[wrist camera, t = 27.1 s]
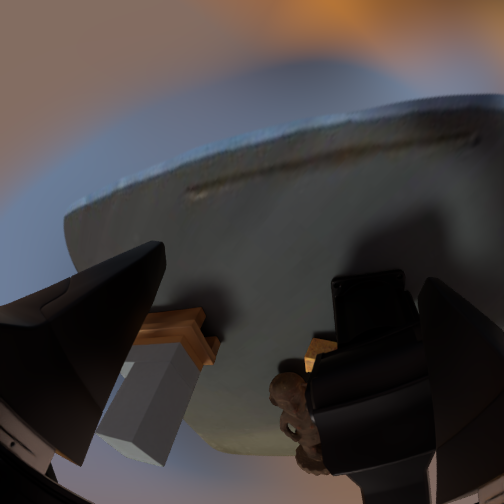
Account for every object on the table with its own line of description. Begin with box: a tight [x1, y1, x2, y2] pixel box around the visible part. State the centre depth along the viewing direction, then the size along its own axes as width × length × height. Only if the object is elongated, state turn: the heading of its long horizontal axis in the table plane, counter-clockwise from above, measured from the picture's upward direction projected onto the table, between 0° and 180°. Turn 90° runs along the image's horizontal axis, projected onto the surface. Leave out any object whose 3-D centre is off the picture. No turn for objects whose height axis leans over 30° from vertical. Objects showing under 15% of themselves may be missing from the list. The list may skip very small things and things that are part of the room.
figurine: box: [269, 372, 330, 476], centre depth 32 cm, size 9×8×20 cm
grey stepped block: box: [95, 335, 203, 467], centre depth 23 cm, size 8×4×12 cm, turn 110°
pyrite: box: [305, 338, 337, 372], centre depth 26 cm, size 5×7×4 cm
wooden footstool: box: [136, 307, 220, 365], centre depth 29 cm, size 9×5×3 cm, turn 108°
